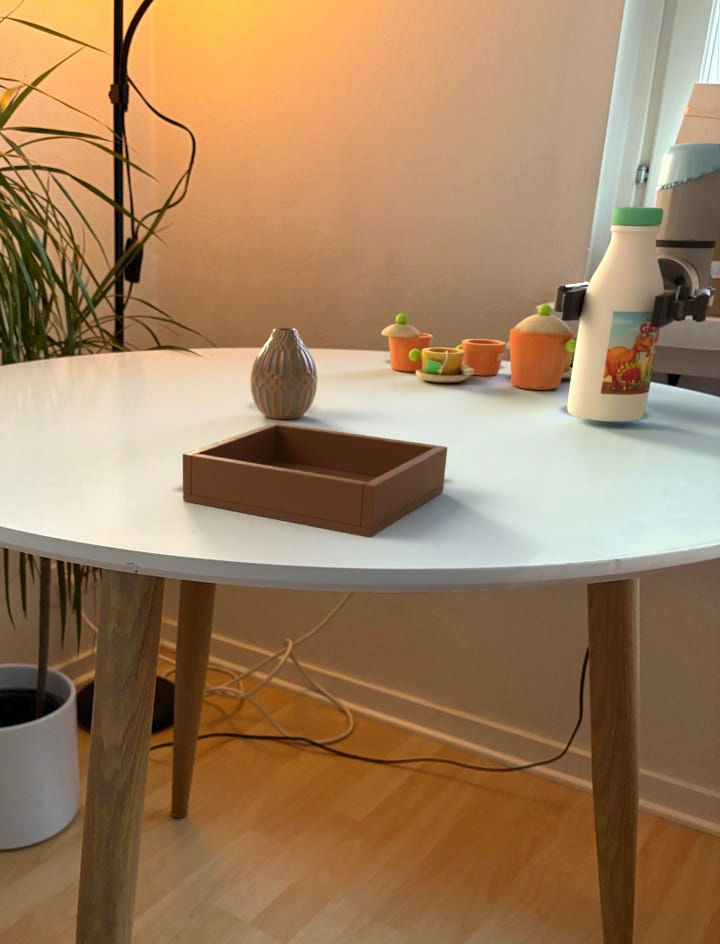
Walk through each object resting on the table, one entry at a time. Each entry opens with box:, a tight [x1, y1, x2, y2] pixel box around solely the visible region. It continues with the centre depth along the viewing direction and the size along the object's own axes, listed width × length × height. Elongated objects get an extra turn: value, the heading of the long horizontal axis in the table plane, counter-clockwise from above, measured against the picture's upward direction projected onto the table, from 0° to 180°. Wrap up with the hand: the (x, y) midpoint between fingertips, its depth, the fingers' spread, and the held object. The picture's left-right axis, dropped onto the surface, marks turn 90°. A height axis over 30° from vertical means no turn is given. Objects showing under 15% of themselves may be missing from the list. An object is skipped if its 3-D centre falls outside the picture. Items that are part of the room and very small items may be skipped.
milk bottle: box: [566, 206, 664, 423], centre depth 99 cm, size 8×8×20 cm
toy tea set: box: [381, 303, 577, 391], centre depth 125 cm, size 26×16×10 cm, turn 74°
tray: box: [182, 422, 448, 538], centre depth 75 cm, size 16×14×4 cm
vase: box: [250, 327, 318, 420], centre depth 102 cm, size 7×7×9 cm
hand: (611, 309), depth 95 cm, fingers closed on milk bottle, 8 cm apart
